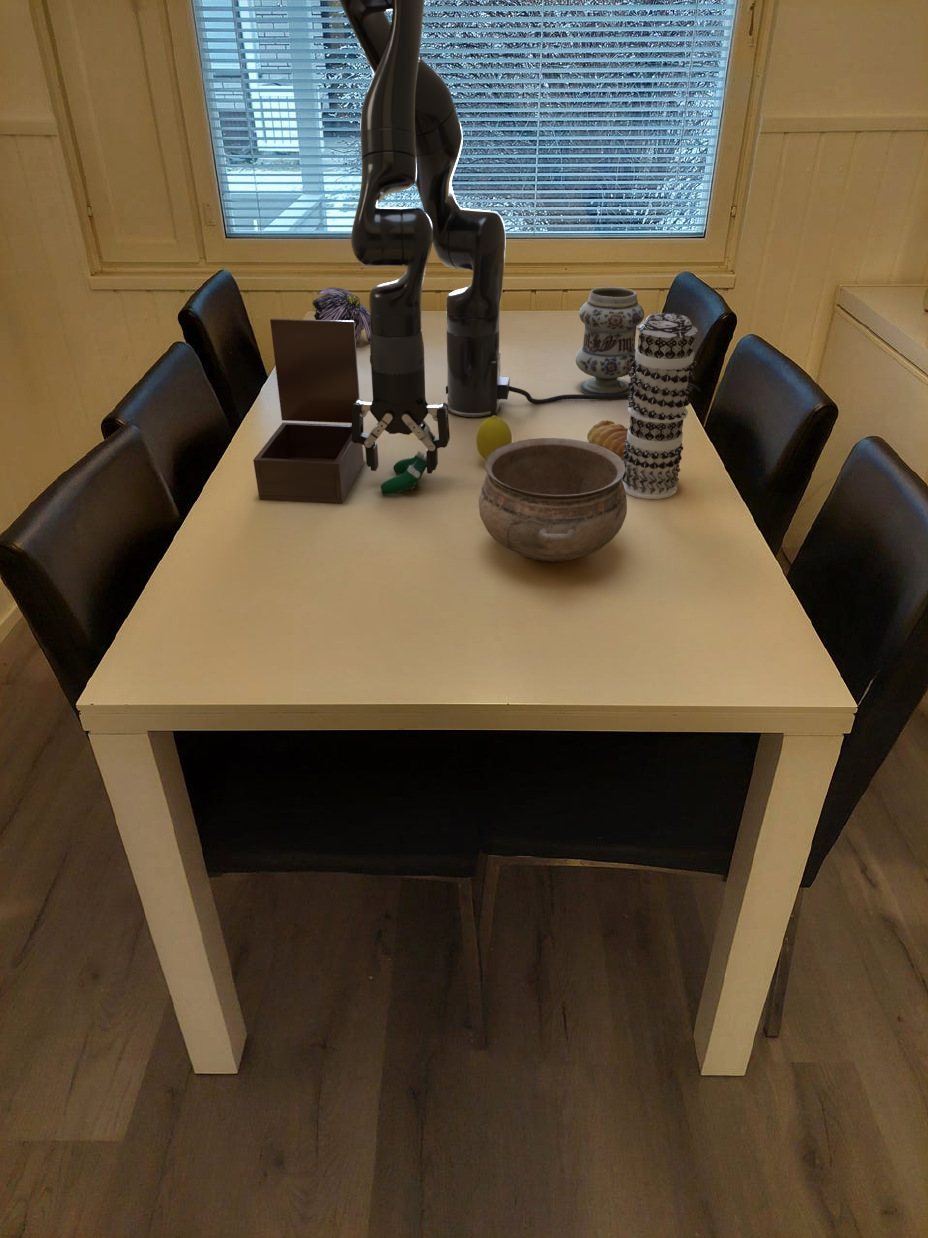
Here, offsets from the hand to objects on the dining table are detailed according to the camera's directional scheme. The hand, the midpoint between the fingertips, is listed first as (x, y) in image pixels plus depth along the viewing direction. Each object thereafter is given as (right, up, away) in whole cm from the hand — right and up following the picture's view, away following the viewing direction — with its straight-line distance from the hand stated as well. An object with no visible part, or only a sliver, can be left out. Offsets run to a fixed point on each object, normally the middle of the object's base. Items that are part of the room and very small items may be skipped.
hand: (402, 470), depth 132 cm
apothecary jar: (+36, +22, +36) cm, 56 cm away
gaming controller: (0, -2, +2) cm, 3 cm away
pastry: (+34, +5, +12) cm, 36 cm away
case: (-14, -1, +3) cm, 14 cm away
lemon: (+14, +2, +8) cm, 16 cm away
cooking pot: (+21, -13, -16) cm, 29 cm away
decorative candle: (+37, -3, 0) cm, 37 cm away
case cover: (-13, +15, +1) cm, 20 cm away
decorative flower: (-17, +40, +64) cm, 78 cm away
